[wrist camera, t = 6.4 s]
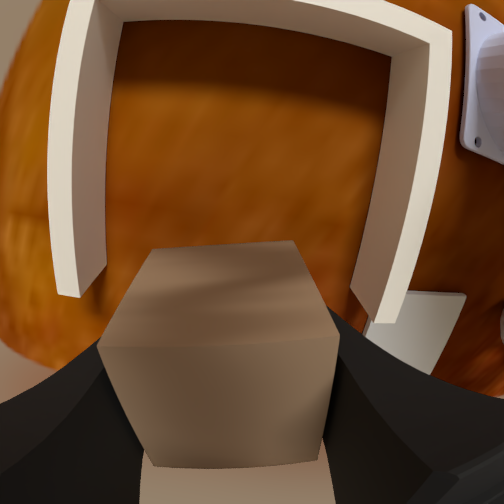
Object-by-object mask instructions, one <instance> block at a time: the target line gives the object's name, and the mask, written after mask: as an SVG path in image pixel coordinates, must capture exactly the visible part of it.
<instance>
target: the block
mask: <svg viewBox="0 0 504 504" xmlns="http://www.w3.org/2000/svg"><path fill="white" fill-rule="evenodd" d="M339 339H340V334H339V332H338V330H337V328H336V326H335V324H334V322H333V320H332V317H331V315H330V313H329V311H328V309H327V307H326V305H325V303H324V301H323V299H322V297H321V295H320V293H319V291H318V289H317V287H316V285H315V283H314V281H313V279H312V277H311V275H310V273H309V271H308V269H307V267H306V265H305V263H304V261H303V259H302V257H301V255H300V253H299V251H298V249H297V247H296V245H295V243H294V241H293V240H290V241H273V242H256V243H240V244H224V245H208V246H192V247H177V248H162V249H152V251H151V252H150V254H149V256H148V257H147V259H146V260H145V262H144V264H143V265H142V267H141V269H140V270H139V272H138V274H137V275H136V277H135V279H134V280H133V282H132V284H131V285H130V287H129V289H128V290H127V292H126V294H125V296H124V297H123V299H122V301H121V302H120V304H119V306H118V308H117V310H116V311H115V313H114V315H113V317H112V318H111V320H110V322H109V324H108V326H107V327H106V329H105V331H104V333H103V335H102V337H101V339H100V340H99V342H98V344H97V349H98V351H99V354H100V357H101V359H102V362H103V364H104V367H105V369H106V371H107V374H108V376H109V379H110V381H111V383H112V385H113V388H114V390H115V392H116V394H117V397H118V399H119V401H120V403H121V405H122V407H123V409H124V411H125V414H126V416H127V418H128V420H129V422H130V424H131V426H132V428H133V429H134V431H135V433H136V435H137V437H138V439H139V441H140V443H141V445H142V446H143V448H144V450H145V452H146V454H147V455H148V457H149V459H150V461H151V462H152V464H153V466H157V467H171V468H198V469H199V468H201V469H222V468H249V467H264V466H275V465H285V464H293V463H301V462H308V461H315V460H317V459H318V454H319V450H320V446H321V441H322V437H323V432H324V427H325V422H326V417H327V412H328V407H329V402H330V396H331V390H332V385H333V379H334V373H335V366H336V360H337V353H338V346H339Z"/></svg>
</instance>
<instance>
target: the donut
mask: <svg viewBox="0 0 504 504" xmlns="http://www.w3.org/2000/svg"><path fill="white" fill-rule="evenodd" d="M500 330H501V338H502V342H503V344H504V308H503V310H502V314H501V317H500Z"/></svg>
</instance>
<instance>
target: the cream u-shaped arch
mask: <svg viewBox="0 0 504 504" xmlns="http://www.w3.org/2000/svg"><path fill="white" fill-rule="evenodd" d="M146 20H206V21H223V22H235V23H245V24H253V25H261V26H268V27H275V28H281V29H287V30H293V31H298V32H303V33H308V34H313V35H317V36H322V37H326V38H330V39H334V40H338V41H342V42H346V43H349V44H353V45H356V46H360V47H363V48H366V49H370V50H373V51H376V52H379V53H382V54H385V55H388V56H391V57H392V58H391V70H390V80H389V90H388V98H387V106H386V114H385V121H384V128H383V135H382V142H381V148H380V154H379V160H378V165H377V171H376V176H375V182H374V187H373V192H372V197H371V202H370V206H369V211H368V216H367V220H366V225H365V229H364V233H363V237H362V242H361V246H360V250H359V254H358V258H357V262H356V265H355V269H354V273H353V277H352V280H351V284H350V288H351V290H352V291H353V293H354V294H355V296H356V297H357V299H358V300H359V302H360V303H361V305H362V306H363V308H364V309H365V311H366V312H367V314H368V315H369V317H370V318H371V320H372V321H373V323H395V322H396V319H397V317H398V314H399V311H400V309H401V306H402V303H403V300H404V298H405V295H406V292H407V289H408V286H409V283H410V280H411V277H412V274H413V271H414V268H415V264H416V261H417V258H418V254H419V251H420V248H421V244H422V241H423V237H424V233H425V230H426V226H427V222H428V218H429V214H430V210H431V205H432V201H433V197H434V192H435V187H436V183H437V178H438V173H439V167H440V162H441V156H442V150H443V144H444V137H445V130H446V122H447V114H448V104H449V94H450V81H451V62H452V31H451V30H449V29H447V28H445V27H443V26H441V25H439V24H437V23H435V22H433V21H431V20H429V19H427V18H425V17H422V16H420V15H418V14H416V13H413V12H411V11H409V10H406V9H404V8H402V7H399V6H397V5H394V4H392V3H389V2H386V1H384V0H70V3H69V7H68V10H67V14H66V18H65V22H64V26H63V31H62V35H61V40H60V45H59V50H58V56H57V61H56V67H55V74H54V81H53V89H52V97H51V107H50V118H49V133H48V161H47V181H48V210H49V225H50V237H51V247H52V256H53V264H54V272H55V278H56V285H57V291H58V294H61V295H66V296H72V297H78V298H80V297H81V296H82V295H83V293H84V292H85V291H86V290H87V288H88V287H89V286H90V285H91V283H92V282H93V281H94V280H95V278H96V277H97V276H98V275H99V274H100V272H101V271H102V270H103V269H104V267H105V266H106V265H107V257H106V234H105V172H106V150H107V134H108V122H109V111H110V102H111V93H112V86H113V78H114V71H115V65H116V59H117V53H118V47H119V42H120V37H121V32H122V27H123V22H129V21H146Z"/></svg>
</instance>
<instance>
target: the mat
mask: <svg viewBox="0 0 504 504" xmlns="http://www.w3.org/2000/svg"><path fill="white" fill-rule="evenodd" d="M466 297H467V296H466V295H465V294H464V293H448V292H427V291H408V290H407V292H406V295H405V298H404V300H403V303H402V306H401V309H400V311H399V314H398V317H397V319H396V322H395V323H373V321H372V320H371V318H370V317H369V316H368V319H367V322H366V325H365V328H364V331H363V333H362V335H363V336H365V337H366V338H368V339H369V340H370V341H372V342H373V343H375V344H376V345H378V346H379V347H381V348H382V349H384V350H385V351H387V352H388V353H390V354H391V355H393V356H394V357H396V358H398V359H399V360H401V361H403V362H405V363H407V364H409V365H411V366H412V367H414V368H416V369H418V370H420V371H422V372H424V373H426V374H428V375H430V374H431V372H432V370H433V368H434V366H435V364H436V363H437V361H438V359H439V357H440V355H441V353H442V351H443V349H444V347H445V345H446V343H447V341H448V339H449V337H450V334H451V332H452V330H453V328H454V326H455V323H456V321H457V319H458V317H459V314H460V312H461V310H462V307H463V305H464V302H465V300H466Z"/></svg>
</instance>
